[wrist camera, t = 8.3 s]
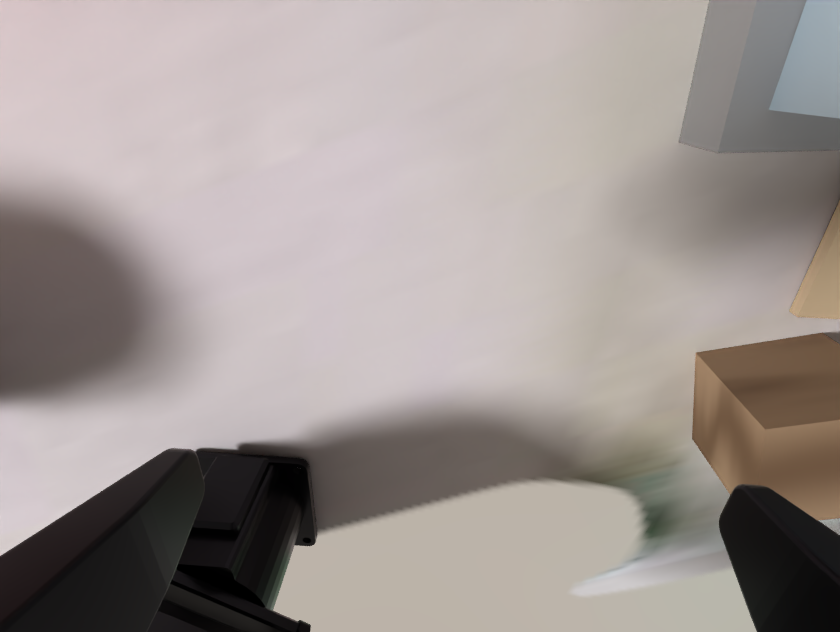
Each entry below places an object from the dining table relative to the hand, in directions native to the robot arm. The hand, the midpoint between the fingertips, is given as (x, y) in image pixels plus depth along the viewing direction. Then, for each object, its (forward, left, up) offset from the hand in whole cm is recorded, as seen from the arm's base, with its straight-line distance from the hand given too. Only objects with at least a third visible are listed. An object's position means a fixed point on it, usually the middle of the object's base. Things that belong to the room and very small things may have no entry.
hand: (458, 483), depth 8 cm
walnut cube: (-6, -14, -12) cm, 19 cm away
